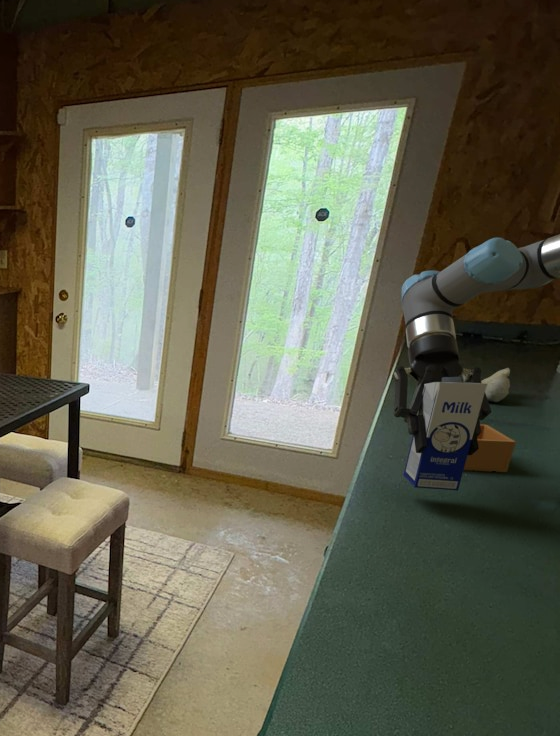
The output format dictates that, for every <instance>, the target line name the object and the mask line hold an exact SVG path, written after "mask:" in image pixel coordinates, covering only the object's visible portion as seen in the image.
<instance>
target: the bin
mask: <svg viewBox="0 0 560 736" xmlns="http://www.w3.org/2000/svg"><path fill="white" fill-rule="evenodd" d="M480 427H481V434H480V435H479V436H477V440H478V446H479V449H478V450H477V451H476V452H474V453H473V454H472V455H467V459H466V463H465V466H464V470H463V471H473V470H474V472H475V471H476V472H492V471H496V472H495V473H507V472H508V470H509V467H510V463H511V461H512V460H511V459H512V456H513V453H514V450H515V447H516V443H517V441H515V440H514V439H512V438H510V437H508V436H507V435H505V434H504V433H502V432H500V431H498V430H497V429H495V428H493V427H492V426H490V425H488V424H481V423H480Z"/></svg>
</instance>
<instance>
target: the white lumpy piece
mask: <svg viewBox="0 0 560 736" xmlns="http://www.w3.org/2000/svg"><path fill="white" fill-rule="evenodd" d="M510 374H511V369H510V368H509V367H506V368H504V369H499V370H498V371H496V372H495V373H493V374H492V375H491V376H489V377H485V378H484V379H482V380H481V382H482V383H483V384H487V387H486V390H485V394H486V397H487V399H488V402H493V403H499V402H500V401H502V400H504V399H505V398H506V397H507V396H508V395H509V394H510V393H509V389H510V387H511V384H510V383H511V382H510V381H511V380H510V379H509V378H508V377H509V376H510Z"/></svg>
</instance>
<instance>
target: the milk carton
mask: <svg viewBox="0 0 560 736" xmlns="http://www.w3.org/2000/svg"><path fill="white" fill-rule="evenodd" d="M424 385H425V386H424V390H423V401H422V404H421V406H420V409H419V411H418V413H417V416H418V415H423V417H424V424H425V432H426V440H427V447H426V448H425V449H424V450H423V451H422V452H421V453H416V449H415V440H414V435H411V436H412V437H411V441H410V444H409V445H410V446H409V449H408V453H407V459H406V462H405V466H404V470H403V477H405V478H406V480H407V481H408V482H409V483H410V484H411V485H412V486H413V488H417V489H431V490H445V491H459V488H460V485H461V481H462V477H463V474H464V471H465V470H464V466H465V463H466V459H467V455H468V452H469V448H470V444H471V441H472V437H473V433H474V430H475V426H476V422H477V419H478V415H479V412H480V408H481V404H482V401H483V397H484V393H485V390H486V387H487V384H483V383H466V382H462V376H461V377H460V376H458V377H442V382H433V383H428V384H424Z"/></svg>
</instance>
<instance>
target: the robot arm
mask: <svg viewBox="0 0 560 736" xmlns="http://www.w3.org/2000/svg"><path fill="white" fill-rule="evenodd" d="M559 278H560V233H559V234H556V235H554V236H553V235H552V236H551V237H548V238H545V239H543V240H540V241H536V242H534V243H531V244H528V245H526V246H522V247H517V246H516V244H514V243H513V242H512V241H510V240H506V239H505V238H503V237H493V238H490V239H487V240H486V241H484V242H483V243H481V244H479V245H476V246H475V247H473V248H472V249H470V250H469V251H468V252H467V253H465V254H464V255H463V256H462V257H460V258H458V259H456V261H454V262H452V263H451V264H449V265H448V266H447V267H445V268H444V269H443V270H441V271H438V270H425V271H421V272H420V273H419V274H413V275H411V276H410V277H408V278H407V279H406V280H405V281H404V282H403V284H402V286H401V300H400V304H401V308H402V313H403V318H404V324H405V327H404V328H405V336H406V344H407V345H406V346H407V348H408V350H407V354H408V362H409V365H410V366H409V367H404V366H401V365H399V366H397V368H396V369H395V371H394V372H393V373H392V375H391V376H392V379H393V381H394V383H395V384H394V388H395V389H394V404H393V416H394V417H395V418H403V422H404V423H406V426H407V427H406V428H407V433H408V435H411V436H413V435H414V440H415V449H416V453H421V452H422V451H423V450H424V449H425V448H426V447H427V440H426V432H425V424H424V417H423V415H418V411H419V409H420V406H421V404H422V401H423V390H424V386H425V385H424V384H428V383H433V382H442V377H460V376H461V377H462V378H463V379H462V380H463V383H482V382H481V381H482V379H481V375H482V369H481V367H474V368H473V369H469V368H464V366H463V365H462V364H461V362H460V353H459V346H458V341H457V335H456V329H455V324H454V323H455V322H454V317H453V311H454V310H455V309H457V308H459V307H461V306H463V305H464V304H466V303H467V302H470V301H471V300H473V299H474V298H476V297H477V296H479V295H481V294H484V293H493V292H503V291H514V290H530V289H535V288H539V287H542V286H545V285H547V284H549V283H551V282H552V281H553V280H556V279H559ZM409 377H411V378H413V380H415V381H416V382H417V384H416V387H415V390H414V393H413V396H412V399H411V402H410V404H409V406H408V407H407V405H408V383H409ZM491 413H492V408H491V405H490V401H488V399H487V397H486V394H485V393H484V397H483V401H482V404H481V408H480V412H479V415H478V419H477V422H476V426H475V430H474V433H473V437H472V441H471V444H470V448H469V452H468V455H472V454H473V453H474V452H476V451H477V450H478V449H479V446H478V440H477V436H479V435H480V434H481V427H480V424H481V421H484V420H485V419H486V418H487V417H488V416H489V415H491ZM417 415H418V416H417Z"/></svg>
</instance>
